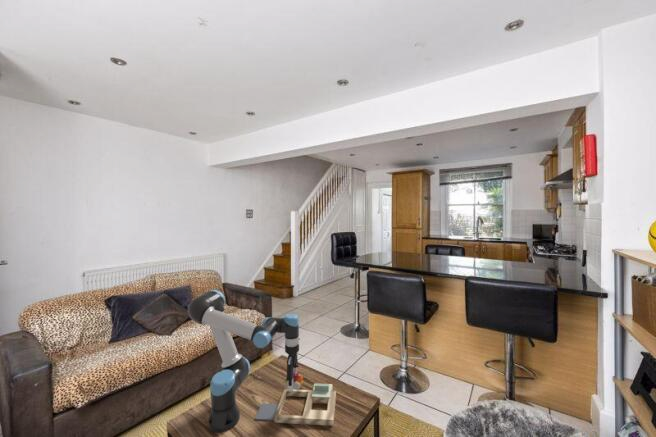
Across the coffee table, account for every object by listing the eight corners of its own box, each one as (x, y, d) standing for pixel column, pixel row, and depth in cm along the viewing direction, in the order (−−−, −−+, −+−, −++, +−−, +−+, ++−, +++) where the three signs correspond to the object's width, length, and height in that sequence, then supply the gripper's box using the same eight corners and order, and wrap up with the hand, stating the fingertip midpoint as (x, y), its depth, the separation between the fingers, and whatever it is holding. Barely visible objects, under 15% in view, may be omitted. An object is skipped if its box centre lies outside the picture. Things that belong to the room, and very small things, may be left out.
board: (274, 422, 139) (273, 416, 139) (287, 387, 166) (287, 382, 166) (333, 425, 136) (332, 419, 136) (336, 389, 163) (336, 384, 162)
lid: (311, 397, 152) (311, 391, 151) (314, 384, 163) (314, 378, 162) (329, 398, 151) (329, 391, 150) (331, 385, 161) (331, 379, 161)
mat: (254, 419, 141) (254, 418, 141) (261, 404, 152) (261, 403, 152) (275, 420, 140) (275, 419, 140) (281, 405, 151) (281, 404, 151)
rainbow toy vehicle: (301, 391, 143) (301, 378, 143) (283, 390, 144) (283, 376, 144) (304, 381, 151) (304, 368, 151) (287, 379, 153) (287, 367, 152)
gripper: (294, 354, 136) (295, 399, 137) (302, 334, 157) (303, 373, 158) (279, 354, 137) (280, 398, 138) (289, 334, 158) (290, 372, 159)
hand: (292, 384), depth 148 cm, fingers closed on rainbow toy vehicle, 8 cm apart
